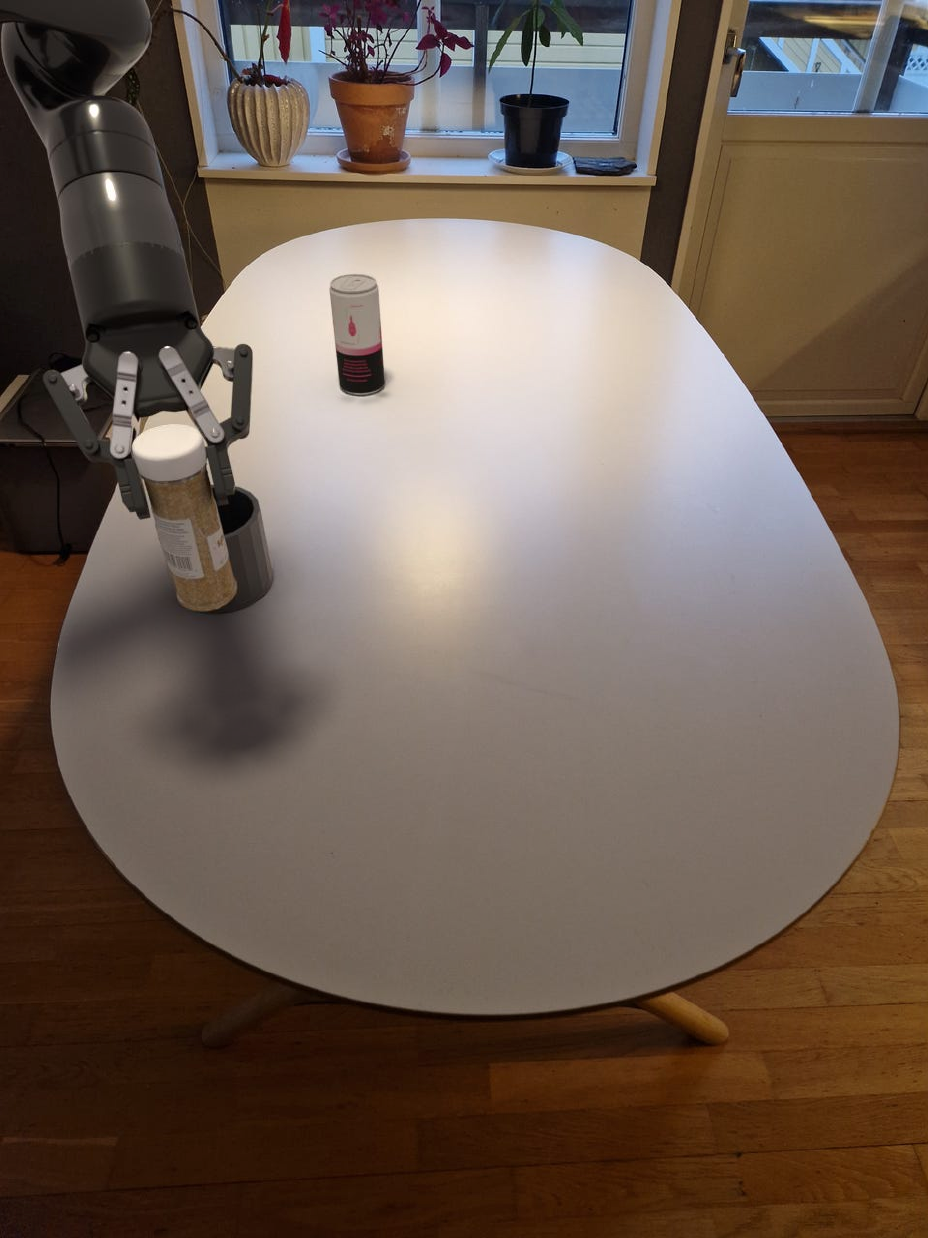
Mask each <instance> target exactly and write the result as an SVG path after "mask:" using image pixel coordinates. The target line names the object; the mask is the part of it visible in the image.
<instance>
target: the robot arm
mask: <svg viewBox="0 0 928 1238" xmlns="http://www.w3.org/2000/svg"><path fill="white" fill-rule="evenodd" d="M0 26H2V27H1V34H0V36H1V37H0V38H1V39H0V43H1V45H0V46H1V47H0V48H1V56H2V60H3V64H4V67H5V70H6V73H7V76H8V79H9V80H10V83H11V85H12V86H13V88H14V91H15V92H16V94H17V97H18V98H19V100H20V102H21V104H22V106H23V107H24V110H25V112H26V113H27V115H28V118H29V120H30V122H31V125H32V126H33V127H34V129H35V131H36V133H37V134H38V136H39V137H40V139H41V142H42V143H43V145H44V147H45V149H46V153H47V158H48V163H49V167H50V172H51V177H52V179H53V181H52V182H53V186H54V190H55V193H56V198H57V203H58V209H59V216H60V230H61V237H62V238H61V239H62V243H63V248H64V253H65V256H66V261H67V265H68V269H69V273H70V278H71V284H72V287H73V291H74V297H75V301H76V305H77V309H78V314H79V318H80V323H81V327H82V332H83V337H84V340H85V350H84V353H83V356H82V359H81V364H79V365H77V366H75V367H72V368H70V369H67V370H65V371H63V372H60V371H59V370H55V369H49V370H47V371H45V372H44V373H43V375H42V382H43V384H44V386H45V388H46V389H47V392H48V393H49V395H50V397H51V399H52V401H53V403H54V404H55V406H56V409H57V410H58V412H59V413H60V415H61V417H62V418H63V420H64V422H65V424H66V426H67V428H68V429H69V431H70V433H71V435H72V437H73V438H74V440H75V442H76V444H77V446H78V448H79V449H80V450H81V452H82V453H83V455H84V456H85V457H86V458H87V460H89V461H90V462H91V463H94V464H98V463H105V464H109V465H112V466H113V467H114V471H115V476H116V480H117V484H118V488H119V493H120V497H121V502H122V504H123V505H124V506H125V508H126V509H127V510H128V512H129V513H130V514H131V513H135V515H136V516H137V518H138V519H139V521H140V520H147V519H151V517H152V516H151V512H150V508H149V503H148V499H147V494H146V488H145V484H144V480H143V479H142V477H141V475H140V473H139V472H138V469H137V466H136V463H135V459H134V455H133V452H132V444H133V442H134V440H135V439H136V438H137V436H139V435H140V429H141V421H142V418H147V417H153V416H155V415H157V414H159V413H163V412H166V413H181V412H186V413H187V415H188V416H189V418H190V420H191V422H192V424H193V425H194V426H195V427H196V428H197V430H198V431H199V432H200V433H201V435H202V438H203V441H205V444H206V445H207V446H205V449H206V454H207V463H208V466H209V471H210V475H211V480H212V482H213V484H212V485H214V488H215V493H216V497H217V501H218V506H220V505H225V504H228V498H227V495H233V494H234V491H235V486H236V483H235V482H236V481H235V478H234V473H233V469H232V465H231V464H232V463H231V460H230V455H229V452H228V450H229V447H230V446H231V445H232V444H233V443H235V442H237V441H238V440H244V439H247V438H248V437H249V435H250V431H251V430H250V429H251V412H252V411H251V410H252V393H253V391H252V390H253V376H254V375H253V373H254V357H253V356H254V355H253V353H254V352H253V349H252V347H251V346H250V345H248V344H247V343H239V344H238V345H236V347H235V348H233V347H223V346H217V345H213V343H212V342H211V340H210V339H209V338H208V337H207V336H206V334H205V333H204V331H203V330H202V329H203V328H202V326H201V321H200V317H199V314H198V309H197V304H196V300H195V295H194V291H193V287H192V283H191V279H190V274H189V270H188V265H187V260H186V259H187V258H186V251H185V249H184V248H183V244H182V239H181V235H180V230H179V228H178V223H177V221H176V218H175V215H174V213H173V211H172V208H171V204H170V203H169V199H168V196H167V195H168V194H167V191H166V187H165V182H164V178H163V174H162V169H161V165H160V161H159V156H158V153H157V148H156V143H155V139H154V137H153V133H152V131H151V129H150V126H149V125H148V122H147V121H146V119H145V118H144V116H143V115H142V114H141V113H140V112H139V110H137V108H136V107H134V106H132V104H130V103H129V102H127V101H124V100H122V99H119V98H117V97H113V96H108V95H106V94H107V93H108V92H109V90H110V89H111V88H112V87H114V86H115V85H116V83H117V82H119V81H120V79H122V77H123V76H124V75H125V74H126V73H128V71H129V70H130V69H131V68H133V66H134V65H136V64H137V62H138V61H139V60H140V59H142V57H143V56H144V54H145V52H146V51H147V49H148V47H149V44H150V42H151V38H152V33H153V31H152V30H153V25H152V18H151V13H150V9H149V6H148V4H147V2H146V0H0ZM213 365H216V366H218V367H219V368H220V369H221V373H222V376H223V379H224V380H226V381H227V382H231V383H232V388H231V389H232V390H231V405H230V407H231V408H230V417H228V418H227V419H225V420H223V421H220V422H219V421H218V419H217V417H216V416H215V414H214V412H213V410H212V409H211V407H210V405H209V403H208V401H207V399H206V398H205V396H204V395H203V392H202V388H203V386H204V384H205V382H206V380H207V378H208V376H209V374H210V371H211V370H212V367H213ZM90 382H92V383H93V385H95V386H96V387H97V388H99V389H100V391H102V392H103V394H105V395H106V396H108V397H109V398H110V399H111V400H112V401H113V408H112V428H111V437H110V440H109V439H103V438H98V437H97V435H96V433H95V431H94V429H93V428H92V426H91V423H90V421H89V420H88V418H87V416H86V415H85V413H84V411H83V409H82V408H81V405H82V404H85V403H86V402H87V400H88V393H87V390H86V388H87V385H88V384H89V383H90Z"/></svg>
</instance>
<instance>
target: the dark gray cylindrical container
mask: <svg viewBox="0 0 928 1238" xmlns="http://www.w3.org/2000/svg"><path fill="white" fill-rule="evenodd" d="M211 487H212V492H213V496H214V499H215V502H216V505H217V509H218V513H219V517H220V521H221V526H222V530H223V534H224V537H225V541H226V545H227V549H228V557H229V560H230V565H231V568H232V573H233V577H234V578H235V580H236V582H237V592H236V594H235V596H234V598H233V599H232V600H230V601H229V602H228V603H227V604H226V605H224V606H222V607H221V608H218V609H214V610H210V611H196V612H198V613H203V614H209V615H211V614H212V615H213V614H225V613H226V614H227V613H232V612H236V611H240V610H242V609H244V608H247V607H249V606H251V605H253V604H254V603H256V602H258V601H259V600H260V599H261V598H263V597H264V596H265V595H266V593H267V592H268V591H269V590H270V588H271V586H272V583H273V578H274V576H273V568H272V563H271V558H270V553H269V548H268V542H267V536H266V532H265V527H264V520H263V516H262V510H261V506H260V502H259V499H258V498H257V497H256V496H255V495H254V494H253V493H252V492H251V491H249V490H247V489H245V488H243V487H241V486H236V485H235V491H234V494H233V495H227V498H228V504H225V505H220V506H218V501H217V497H216V493H215V488H214V484H211ZM154 527H155V530H156V533H157V537H158V541H159V544H160V547H161V551H162V555H163V557H164V561H165V564H166V567H167V568H166V569H167V571H168V575H169V578H170V581H171V585H172V589H173V591H174V593H175V597H177V588H176V584H175V582H174V579H173V576H172V572H171V570H170V568H169V566H168V563H167V559H166V556H165V553H164V550H163V546H162V543H161V540H160V537H159V533H158V530H157V527H156V524H155V523H154Z"/></svg>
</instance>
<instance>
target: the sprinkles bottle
mask: <svg viewBox="0 0 928 1238" xmlns="http://www.w3.org/2000/svg"><path fill="white" fill-rule="evenodd" d="M204 441H205V440H204V438H203V437H202V435H201V433H200V432H199V430H198V429H196V428H195V427H193V426H190V425H186V424H179V423H168V424H162V425H158V426H157V425H156V426H154V427H151V428H149V429H147V430H145V431H143V432H141V433H139V435H138V436H137V438H136V439H135V440H134V442H133V444H132V452H133V455H134V459H135V463H136V466H137V469H138V472H139V473H140V475H141V477H142V481H143V484H144V487H145V491H146V493H147V496H148V500H149V503H150V504H149V505H150V509H151V513H152V514H151V515H152V517H153V520H154V525H155V524H156V527H157V530H158V533H159V537H160V540H161V543H162V546H163V550H164V553H165V556H166V559H167V563H168V566H169V568H170V570H171V572H172V576H173V579H174V582H175V584H176V588H177V596H176V598H177V601H178V603H179V604H180V605H181V606H182V607H184V608H185V609H188V610H190V611H194V612H197V611H210V610H214V609H218V608H221V607H222V606H224V605H226V604H227V603H228V602H229V601H230V600H232V599H233V598H234V596H235V594H236V592H237V582H236V580H235V578H234V577H233V573H232V568H231V565H230V560H229V557H228V549H227V545H226V541H225V537H224V534H223V530H222V526H221V521H220V517H219V513H218V509H217V505H216V502H215V499H214V496H213V492H212V487H211V485H212V483H211V479H210V476H209V471H208V468H207V465H208V458H207V454H206V449H205V447H206V446H205V442H204ZM156 527H155V528H156ZM157 530H156V531H157ZM159 537H158V538H159Z"/></svg>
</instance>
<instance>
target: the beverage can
mask: <svg viewBox="0 0 928 1238" xmlns="http://www.w3.org/2000/svg"><path fill="white" fill-rule="evenodd" d="M329 298H330V299H329V300H330V308H331V318H332V328H333V337H334V338H333V339H334V346H335V357H336V366H337V373H338V374H337V375H338V384H339V387H340V389H342V390H343V391H344V392H346V393H347V394H350V395H354V396H367V395H372V394H375V393H377V392H378V391H380V390H381V389H382V388H383V387H384V385H385V382H386V381H385V366H384V365H385V364H384V350H383V349H384V348H383V336H382V324H381V323H382V322H381V308H380V292H379V285H378V283H377V279H376V278H375V277H373V276H371V275H368V274H363V273H347V274H342V275H339V276H336V277H334V278H332V279H331V280H330V282H329Z"/></svg>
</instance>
